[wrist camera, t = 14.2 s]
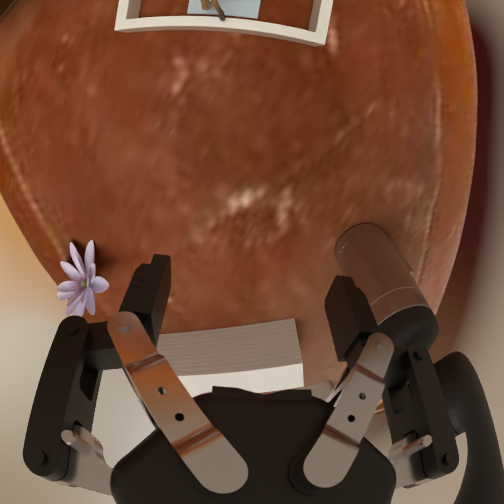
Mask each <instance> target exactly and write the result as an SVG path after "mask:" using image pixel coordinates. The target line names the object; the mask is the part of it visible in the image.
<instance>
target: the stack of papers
mask: <svg viewBox="0 0 504 504" xmlns="http://www.w3.org/2000/svg"><path fill="white" fill-rule="evenodd" d="M156 350H157V351H158V353H159V354H160V355H163V356H164V357H165V358H166V360H167V361H168V363H169V364H170V366H171V367H172V369H173V370H174V372H175V373H176V375H177V376H178V378H179V379H180V381H181V382H182V384H183V385H184V387H185V388H186V390H187V391H188V393H189V394H190V395H191V397H195V396H197V395H200V394H203V393H208V392H212V386H222V387H235V388H240V389H244V390H247V391H251V392H255V393H261V392H269V391H277V390H284V389H291V388H297V387H303V386H304V385H303V364H302V358H301V352H300V346H299V342H298V335H297V330H296V325H295V319H294V318H292V319H286V320H279V321H273V322H266V323H259V324H252V325H245V326H237V327H229V328H221V329H212V330H203V331H193V332H183V333H171V334H159V339H158V343H157V348H156Z"/></svg>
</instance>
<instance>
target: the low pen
mask: <svg viewBox="0 0 504 504" xmlns="http://www.w3.org/2000/svg"><path fill="white" fill-rule="evenodd" d="M209 1H210V2H211V0H209ZM217 1H218V4H219V6H220V7H221V9H222V10H223V11H224V14H225V16H237V17H246V18H254V19H257V18H258V12H259V7H260V2H261V0H217ZM332 4H333V0H314V1H313V6H312V12H311V17H310V23H309V28H308V31H307V30H303V29H299V28H294V27H289V26H284V25H279V24H273V23H267V22H261V21H253V20H245V19H236V18H225V21H221V20H220V18H219V17H208V16H163V17H147V18H139V12H140V6H141V0H119V5H118V10H117V17H116V24H115V30H116V31H121V32H126V33H130V32H141V31H158V30H205V31H221V32H233V33H243V34H251V35H258V36H265V37H271V38H277V39H282V40H288V41H293V42H297V43H302V44H306V45H310V46H315V47H316V46H322V45H325V41H326V36H327V31H328V25H329V20H330V15H331V9H332ZM201 5H202V4H201V1H200V0H190V1H189V6H188V12H187V14H209V15H218V12H217V10H216V9H215V7H214V6H213V4H212V8H211V9H209V10H203V9H202V6H201Z"/></svg>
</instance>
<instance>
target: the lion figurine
mask: <svg viewBox="0 0 504 504" xmlns="http://www.w3.org/2000/svg"><path fill="white" fill-rule="evenodd" d="M200 1H201V4H202V5H201V6H202V9H203V10H209V9H211V8H212V4H213V6H214V7H215V9H216V10H217V12H218V17H219V18H220V20H221V21H225V14H224V11H223V10H222V9H221V7H220V6H219V4H218V1H217V0H211V2H210V1H209V0H200Z"/></svg>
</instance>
